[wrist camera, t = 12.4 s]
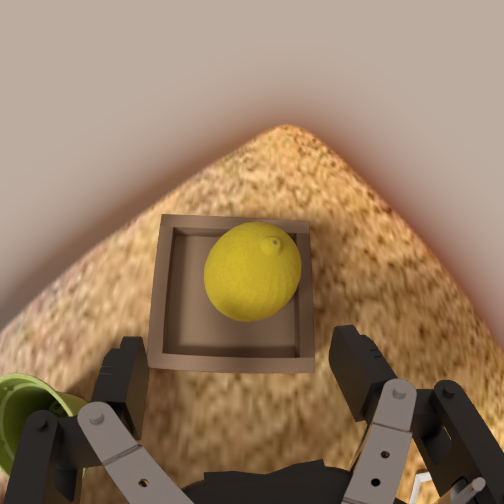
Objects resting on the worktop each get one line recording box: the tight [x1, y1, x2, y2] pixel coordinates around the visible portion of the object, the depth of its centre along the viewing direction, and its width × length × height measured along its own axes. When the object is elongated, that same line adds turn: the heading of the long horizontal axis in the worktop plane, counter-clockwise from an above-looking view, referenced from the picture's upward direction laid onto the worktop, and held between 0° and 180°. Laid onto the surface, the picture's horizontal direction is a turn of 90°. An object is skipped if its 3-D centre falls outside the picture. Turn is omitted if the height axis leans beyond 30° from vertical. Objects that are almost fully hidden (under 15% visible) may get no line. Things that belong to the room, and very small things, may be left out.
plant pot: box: [0, 373, 89, 480], centre depth 19 cm, size 9×9×9 cm
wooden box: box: [147, 214, 315, 373], centre depth 25 cm, size 11×11×8 cm
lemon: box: [204, 222, 301, 322], centre depth 19 cm, size 6×6×8 cm
